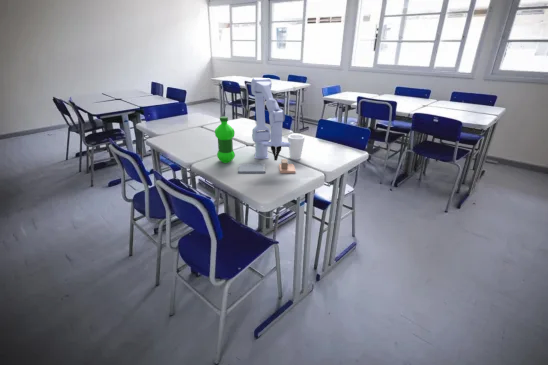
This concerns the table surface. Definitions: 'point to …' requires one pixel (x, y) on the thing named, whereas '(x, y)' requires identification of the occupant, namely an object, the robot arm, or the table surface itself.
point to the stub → (286, 167)
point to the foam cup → (295, 146)
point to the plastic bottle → (225, 141)
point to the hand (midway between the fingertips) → (275, 159)
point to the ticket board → (251, 168)
